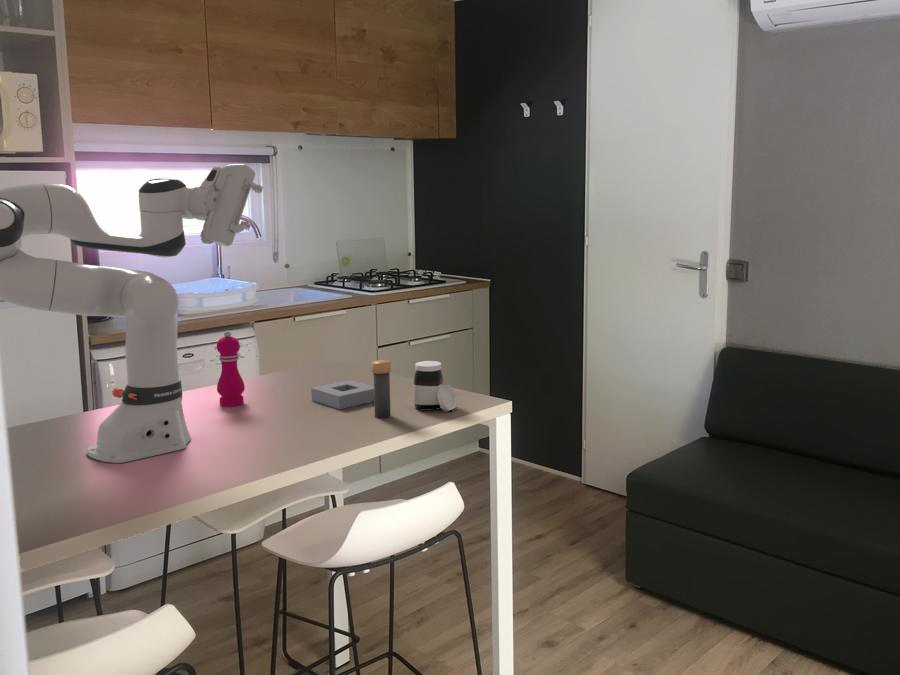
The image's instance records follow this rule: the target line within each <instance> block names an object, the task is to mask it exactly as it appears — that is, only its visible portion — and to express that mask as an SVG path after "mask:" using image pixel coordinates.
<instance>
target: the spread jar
mask: <svg viewBox="0 0 900 675" xmlns="http://www.w3.org/2000/svg"><path fill="white" fill-rule="evenodd" d="M414 365H415V367H414V368H415V372H414V375H413V403H414V407H415V408H416V409H417V408H419V409H418V410H420V409H437V408H440V407H441V408H440V409H441V410H443V411H445V412H451V411H450V410H449V408H452V409H453V408H455V409H456V407H457V405H458V404H457V403H458V398H457V394H456V391H455V389H454V388H453V387H452V385H449V384H444V373H443V371H442V363H441V362H440V361H436V360H435V361H434V360H424V361H419V362H418V361H417V362H416V363H415V364H414ZM437 410H438V409H437Z"/></svg>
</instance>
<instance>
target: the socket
mask: <svg viewBox="0 0 900 675" xmlns="http://www.w3.org/2000/svg"><path fill="white" fill-rule="evenodd" d="M310 389H311V390H310V391H311V393H310V394H311V401H312V402H316V403H319V404H322V405H325V406H328V407H331V408H335V409H338V410H342V409H347V407H348V408H351V406H352V407H356V406H360V405H359V404H361V405H365V404H369V403H373V402H372V401H374V385H370V384H366V383H362V382H359V381H356V380H351V379H349V380H344V381H338V382H335V383H328V384H324V385H323V384H322V385H319V386H315V387H314V386H313V387H311V388H310ZM368 402H369V403H368ZM364 403H365V404H364Z"/></svg>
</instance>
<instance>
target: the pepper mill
mask: <svg viewBox="0 0 900 675" xmlns="http://www.w3.org/2000/svg"><path fill="white" fill-rule="evenodd" d="M231 334H232V333H231V331H229V330H226V331H224V333H223V335H224V336H222V337H220V338H219V339H218V341H217V342H216V350H217V352H218V353H219V356H218V357H219V359H218V360H219V361H220V362H221V373H220V377H219V378H218V381H217V384H216V391H217V393H218V394H219V395H220V398H219V405H220V406H221V405H222V407H225V406H232V407H239V406H241V405H243V404H244V403H245V402H244V401H245V400H244V396H243V395H242V394H243V393H244V392H245V389H246V387H245V382H244V380H243V378H242V376H241V374H240V371H239V368H238V360H239V359H240V358H239V353H238V352H239V351H240V348H241V345H240V342H239V340H238V338H236V337H234V336H231Z"/></svg>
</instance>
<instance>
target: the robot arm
mask: <svg viewBox="0 0 900 675" xmlns="http://www.w3.org/2000/svg"><path fill="white" fill-rule="evenodd" d="M255 176H256V172H255V170H254V169H253V168H251V167H250V166H249V165H246V164H244V163H243V164H242V163H240V164H239V163H237V164H236V163H235V164H227V165H224V166H223V167H221V166H218V165H216V166H215V165H214V166H213V167H212V169H211V170H210V171H209V173H208V174H207V176H206V178H205V179H204V180H203V182H202V183H200V184H196V183H195V184H194V183H191V182H183V181H182V180H180V179H173V178H153V179H149V180H146V182H145V183H144V184H143V185H142V186H141V187H140V188H139V190H138V203H139V204H138V206H139V214H140V226H141V231H140V234H139V235H138V236H137V235H136V236H135V235H127V234H119V233H118V234H117V233H109V232H106V231H104V230H103V229H102V228H101V226H100V225H99V224H98V222H97V220H96V219H95V217H94V215H93V212H92V210H91V209H90V206H89V205H88V203H87V201H86V200H85V199H84V197H83V196H82V194H81V193H80V192H79V191H77V190H76V189H75V188H73V187H71V186H69V185H68V184H59V183H31V184H20V185H15V186H8V187H4V188H0V300H1V301H3V302H6V303H8V304H9V303H10V304H12V305H17V306H20V307H22V308H23V307H24V308H28V309H32V310H38V311H44V312H45V311H47V312H52V313H53V312H54V313H61V314H69V315H78V316H85V317H86V316H87V317H111V318H123V319H124V318H125V348H124V351H125V352H124V353H125V354H124V355H125V366H126V367H125V368H126V377H127V383H126V386H125V388H124V389H122V388H119V387H114V388H113V389H112V391H111V395H112V396H113V397H115V398H118V399H119V398H121V403H120V404H118V406H117V407H116V408H115V409H114V410H113V411H112V412H111V413H110V414H109V415H108V416H107V417H106V418H105V419H104V420H103V421H102V422H101V423H100V424H99V426H98V430H97V437H96V439H97V440H96V444H94V445H92V446H89V447H87V449H86V455H87V456H89V457H90V458H92V459H94V460H97V461H101V462H104V463H113V464H121V463H122V464H123V463H128V462H132V461H136V460H141V459H146V458H151V457H154V456H158V455H163V454H167V453H171V452H175V451H180V450H181V451H182V450H184V449H186V448H187V444H188V443H189V442H190V441H191V440H192V437H191V434H190V432H189V430H188V426H187V423H186V419H185V418H186V417H185V415H184V410H183V405H182V404H183V403H182V399H183V388H182V380H181V379H180V374H179V363H178V360H179V359H178V328H179V327H178V326H179V298H178V294H177V292H176V289H175V287H174V286H173V285H172V284H171V283H170V282H169V281H167V280H166V279H164V278H163V277H160V276H158V275H156V274H155V273H153V272H149V271H144V270H137V269H129V268H128V269H127V268H121V267H111V266H102V265H93V264H87V263H81V262H73V261H66V260H61V259H60V260H59V259H54V258H52V259H51V258H44V257H35V256H32V255H30V254H29V253H28V254H27V253H26V252H24V251H23V250H21V248H22V247H21V246H22V238H23V237H26V236H29V235H51V234H52V235H60V236H63V237H66V238H68V239H69V241H71V243H72V244H73V245H75V246H78V247H81V248H84V249H92V250H101V251H108V252H119V253H131V254H143V255H149V256H152V257H157V258H164V259H165V258H173V257H176V256H178V255H179V254H180V253H181V252H182V251H183V250H184V248H185V246H186V237H185V231H184V225H183V222H184V221H183V219H186V220H193V219H196V220H199V221H202V222H203V221H204V223H203V228H202V229H201V232H200V238H201V239H200V240H201V243H202V244H205V245H211V244H217V245H219V246H223V247H229V246H232V244H233V243H234V239H235V237H236V234H239V233H241V232H243V231H245V230H247V231H249V230H250V229H251V225H252V224H251V222H249V221H247V220H246V221H245V220H241V218H242V215H243V212H244V209H245V206H246V204H247V200H248V198H249V194H250V192H251V191H254V193H256V194H262V192H263V188H264V187H263V186H261V185H260V184H257V183H255V182H254V179H255Z"/></svg>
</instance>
